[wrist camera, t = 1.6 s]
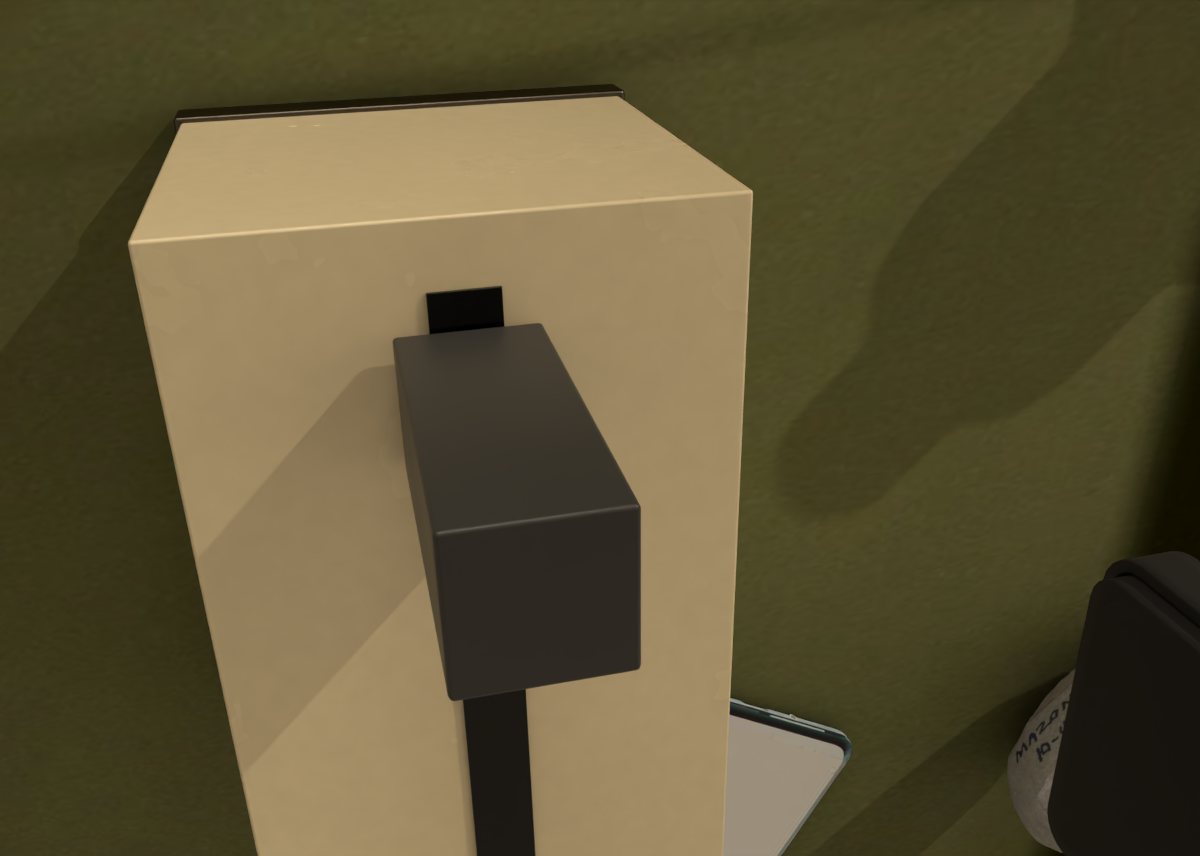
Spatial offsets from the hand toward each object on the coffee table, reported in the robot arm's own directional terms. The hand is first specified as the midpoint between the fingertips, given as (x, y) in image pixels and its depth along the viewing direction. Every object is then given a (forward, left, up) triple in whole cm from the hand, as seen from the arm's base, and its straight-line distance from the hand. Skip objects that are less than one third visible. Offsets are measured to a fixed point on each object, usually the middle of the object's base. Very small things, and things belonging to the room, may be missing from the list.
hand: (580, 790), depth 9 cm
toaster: (+4, 0, -15) cm, 16 cm away
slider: (0, 0, -7) cm, 7 cm away
